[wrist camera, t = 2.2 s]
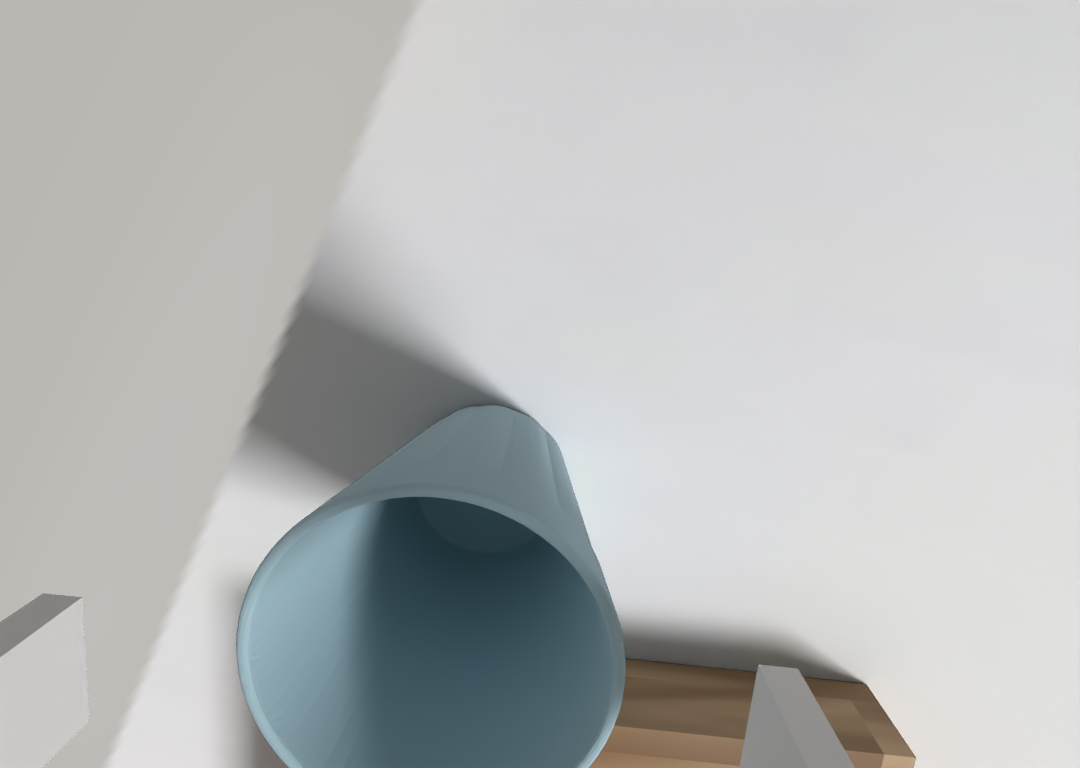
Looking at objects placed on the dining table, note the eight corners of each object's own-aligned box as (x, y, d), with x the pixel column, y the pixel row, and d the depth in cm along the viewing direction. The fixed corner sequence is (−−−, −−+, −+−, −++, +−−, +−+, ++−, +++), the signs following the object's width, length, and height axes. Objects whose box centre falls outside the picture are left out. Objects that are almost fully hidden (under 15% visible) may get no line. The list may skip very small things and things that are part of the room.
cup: (379, 572, 24) (241, 819, 14) (380, 366, 22) (224, 472, 12) (587, 586, 24) (605, 847, 13) (603, 380, 22) (639, 499, 12)
